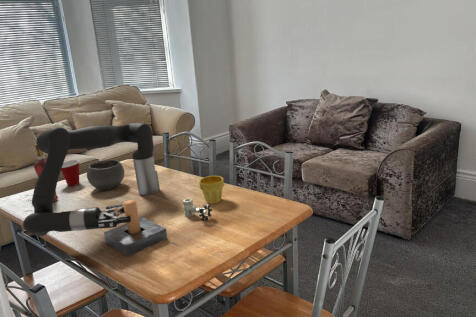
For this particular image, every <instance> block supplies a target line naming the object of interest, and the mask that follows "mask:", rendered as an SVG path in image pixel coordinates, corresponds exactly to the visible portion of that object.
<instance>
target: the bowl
mask: <svg viewBox="0 0 476 317" xmlns="http://www.w3.org/2000/svg"><path fill="white" fill-rule="evenodd" d="M124 168H125V167H124V166H123V164H122V162H120V161H119V160H118V159H103V160H100V161H99V160H98V161H96V162H93V163H91V164H89V165H88V167H87V169H86V170H87V171H86V178H87V181H88V183H89V184H90V185H91V186H92V187H93V188H95V189H98V190H102V191H105V190H106V191H107V190H111V189H113V188H116V187H117V186H119V185H120V184H121V183H122V181H123V180H124V178H125V169H124Z"/></svg>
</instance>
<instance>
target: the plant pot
mask: <svg viewBox="0 0 476 317" xmlns="http://www.w3.org/2000/svg"><path fill="white" fill-rule="evenodd" d="M198 182H199V183H198V184H199V188H200V190H201V191H202V194H203V196H204V199H205V200H204V201H205V202H206V203H207V204H209V205H211V204H218V203H219V202H221V201H222V198H223V197H222V196H223V188H224V186H225V182H224V177H222V176H220V175H208V176H205V177H202V178H201V179H199V181H198Z"/></svg>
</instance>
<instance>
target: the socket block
mask: <svg viewBox="0 0 476 317" xmlns="http://www.w3.org/2000/svg"><path fill="white" fill-rule="evenodd" d="M139 222H140V228H141V232H140V233H137V234H135V235H132V236H131V235H129V233H128V228H127V223H123V224H122V225H119V226H117V227H113V228H112V229H111V228H110V229H109V230H106V231H105V232H103V235H104V240H105V243H106V244H107V245H108V246H111V247H112V248H114V249H115V250H117V251H118V252H120V253H122V254H123V255H124V256H126V257H130V256H132V255H134V254H136V253H139V252H141V251H143V250H145V249H148V248H150V247H152V246H154V245H157V244H159V243H161V242H163V241H165V240H167V239H168V234H167V233H168V232H167V228H166V227H164V226H162V225H159V224H158V223H156V222H153V221H151V220H149V219H147V218H145V217H144V216H142V217H139Z"/></svg>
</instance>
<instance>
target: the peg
mask: <svg viewBox="0 0 476 317" xmlns="http://www.w3.org/2000/svg"><path fill="white" fill-rule="evenodd" d="M122 206H123V207H124V211H125V213H124V216H130V217H131V222H128V223H127V228H128V233H129V235H131V236H132V235H135V234H137V233H140V232H141V228H140V222H139V218H140V217H139V212H138V205H137V201H136V200H135V199H128V200H125V201H123V204H122Z"/></svg>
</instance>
